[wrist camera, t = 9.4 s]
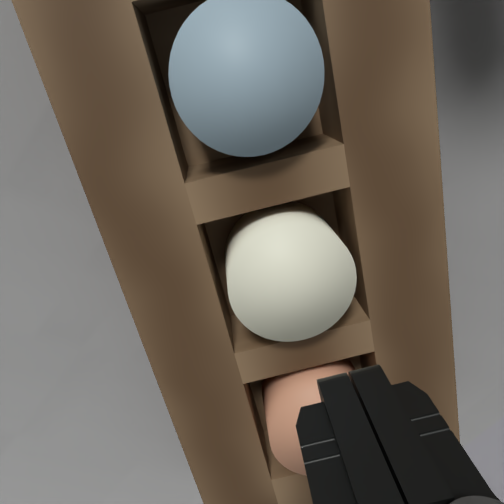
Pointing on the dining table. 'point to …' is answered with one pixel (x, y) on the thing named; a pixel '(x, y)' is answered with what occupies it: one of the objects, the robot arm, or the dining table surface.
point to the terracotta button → (293, 408)
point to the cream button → (288, 272)
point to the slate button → (246, 75)
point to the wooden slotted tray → (254, 198)
